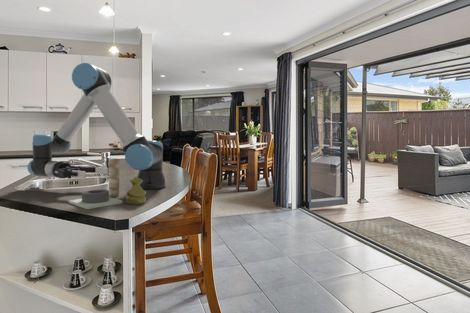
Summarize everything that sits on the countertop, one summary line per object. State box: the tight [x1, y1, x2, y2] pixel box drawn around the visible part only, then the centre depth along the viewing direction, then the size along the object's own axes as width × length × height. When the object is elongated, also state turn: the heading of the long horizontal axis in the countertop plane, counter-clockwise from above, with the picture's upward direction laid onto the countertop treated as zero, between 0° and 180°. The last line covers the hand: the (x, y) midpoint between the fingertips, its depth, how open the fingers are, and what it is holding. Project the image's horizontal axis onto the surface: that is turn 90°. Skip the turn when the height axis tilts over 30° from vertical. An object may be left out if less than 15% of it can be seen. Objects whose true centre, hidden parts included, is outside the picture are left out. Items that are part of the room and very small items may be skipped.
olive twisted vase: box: [125, 176, 147, 205], centre depth 126 cm, size 7×7×10 cm
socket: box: [68, 189, 123, 210], centre depth 123 cm, size 14×14×4 cm
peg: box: [108, 158, 120, 198], centre depth 136 cm, size 4×4×16 cm
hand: (96, 172), depth 138 cm, fingers open, 13 cm apart
